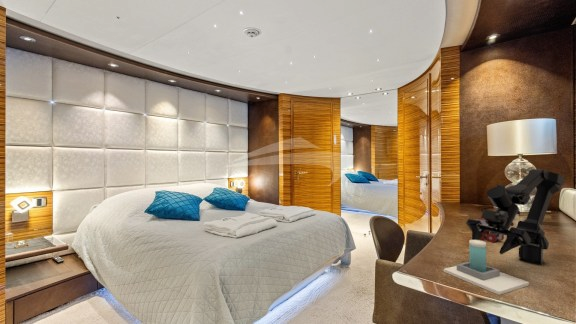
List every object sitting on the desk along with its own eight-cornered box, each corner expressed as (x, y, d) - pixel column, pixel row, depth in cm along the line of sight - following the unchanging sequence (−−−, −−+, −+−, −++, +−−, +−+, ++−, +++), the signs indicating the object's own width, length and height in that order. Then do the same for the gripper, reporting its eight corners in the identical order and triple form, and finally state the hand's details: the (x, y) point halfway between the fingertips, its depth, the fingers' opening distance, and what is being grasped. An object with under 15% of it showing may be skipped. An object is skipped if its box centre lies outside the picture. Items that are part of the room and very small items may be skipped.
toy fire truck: (499, 244, 126) (499, 223, 126) (471, 237, 137) (471, 218, 137) (506, 242, 129) (506, 221, 129) (478, 235, 140) (478, 216, 140)
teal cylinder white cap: (485, 271, 93) (485, 240, 93) (487, 276, 89) (487, 244, 89) (469, 268, 95) (468, 238, 95) (470, 273, 91) (470, 242, 91)
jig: (471, 264, 101) (471, 257, 101) (528, 285, 85) (529, 276, 85) (443, 271, 95) (443, 263, 95) (499, 295, 79) (499, 285, 79)
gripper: (468, 198, 104) (450, 228, 100) (526, 205, 87) (506, 243, 83) (481, 216, 107) (463, 246, 103) (539, 226, 90) (520, 263, 86)
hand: (485, 249), depth 94 cm, fingers open, 9 cm apart
